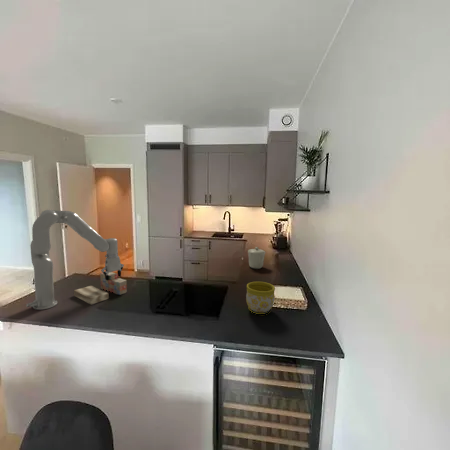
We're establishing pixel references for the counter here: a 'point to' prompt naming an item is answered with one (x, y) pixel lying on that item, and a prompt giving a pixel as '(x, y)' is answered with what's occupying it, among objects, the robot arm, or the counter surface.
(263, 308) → the flowerpot
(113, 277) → the stack of blocks
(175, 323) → the counter surface
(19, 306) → the counter surface
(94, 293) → the birch plinth
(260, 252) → the canister
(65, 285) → the counter surface
